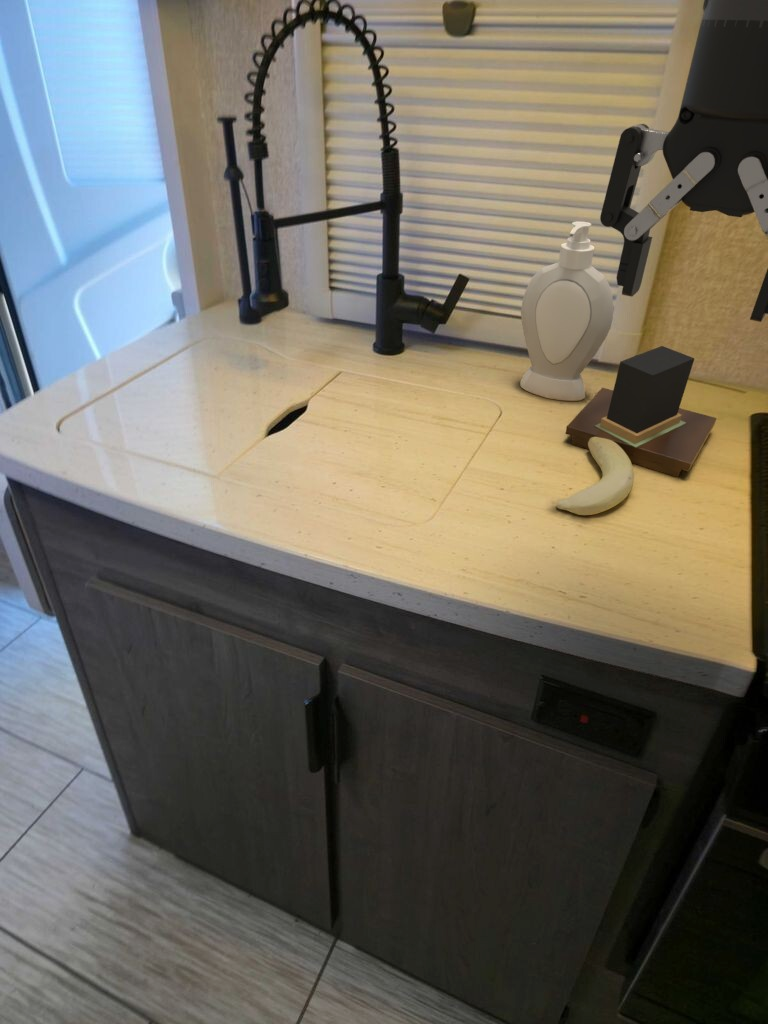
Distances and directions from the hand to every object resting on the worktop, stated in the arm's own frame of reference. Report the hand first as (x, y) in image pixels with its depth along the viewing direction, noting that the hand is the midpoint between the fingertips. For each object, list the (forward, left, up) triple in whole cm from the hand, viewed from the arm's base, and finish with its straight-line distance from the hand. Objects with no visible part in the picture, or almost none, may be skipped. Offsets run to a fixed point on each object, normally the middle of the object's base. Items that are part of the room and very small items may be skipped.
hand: (690, 304), depth 46 cm
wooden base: (+7, -35, -30) cm, 47 cm away
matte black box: (+7, -34, -28) cm, 44 cm away
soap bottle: (+22, -40, -30) cm, 55 cm away
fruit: (+8, -21, -30) cm, 38 cm away
